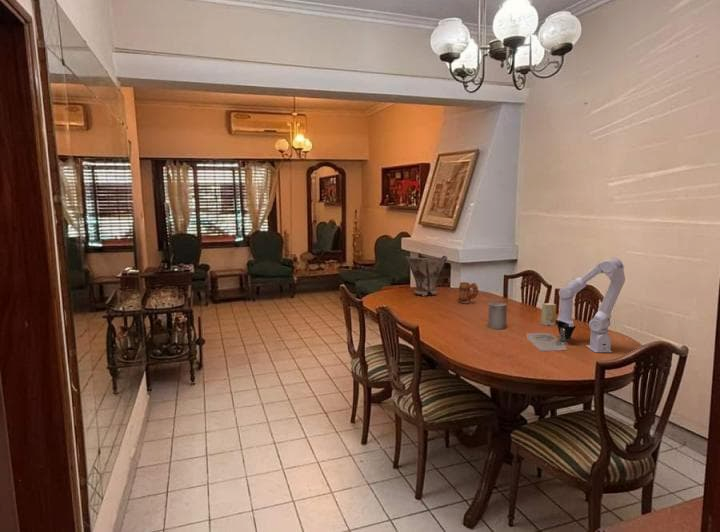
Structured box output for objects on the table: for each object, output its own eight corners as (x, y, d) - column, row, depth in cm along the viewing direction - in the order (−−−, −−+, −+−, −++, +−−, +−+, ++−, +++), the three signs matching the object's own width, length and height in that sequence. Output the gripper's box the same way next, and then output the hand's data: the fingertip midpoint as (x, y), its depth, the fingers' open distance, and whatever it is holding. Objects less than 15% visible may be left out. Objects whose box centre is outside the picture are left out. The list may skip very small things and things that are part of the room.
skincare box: (545, 326, 256) (546, 305, 254) (540, 324, 260) (541, 303, 258) (555, 325, 258) (556, 304, 256) (550, 323, 262) (551, 302, 260)
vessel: (450, 292, 349) (450, 254, 345) (441, 299, 325) (441, 258, 321) (413, 290, 361) (413, 252, 357) (402, 296, 337) (402, 257, 333)
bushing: (570, 342, 227) (571, 328, 226) (561, 342, 227) (562, 329, 226) (567, 339, 232) (567, 326, 231) (558, 339, 232) (559, 326, 231)
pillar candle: (500, 324, 262) (501, 298, 260) (509, 328, 252) (510, 302, 250) (485, 325, 260) (485, 300, 258) (493, 330, 250) (494, 303, 248)
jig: (565, 350, 216) (566, 345, 215) (540, 350, 216) (540, 345, 216) (549, 337, 236) (550, 332, 235) (526, 337, 236) (526, 333, 236)
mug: (455, 302, 315) (455, 281, 313) (462, 301, 321) (462, 280, 318) (473, 306, 305) (473, 284, 302) (480, 304, 310) (480, 282, 308)
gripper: (552, 307, 234) (551, 332, 236) (563, 314, 220) (562, 341, 222) (566, 306, 234) (564, 332, 236) (578, 314, 220) (577, 341, 222)
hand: (564, 336), depth 229 cm, fingers open, 7 cm apart
